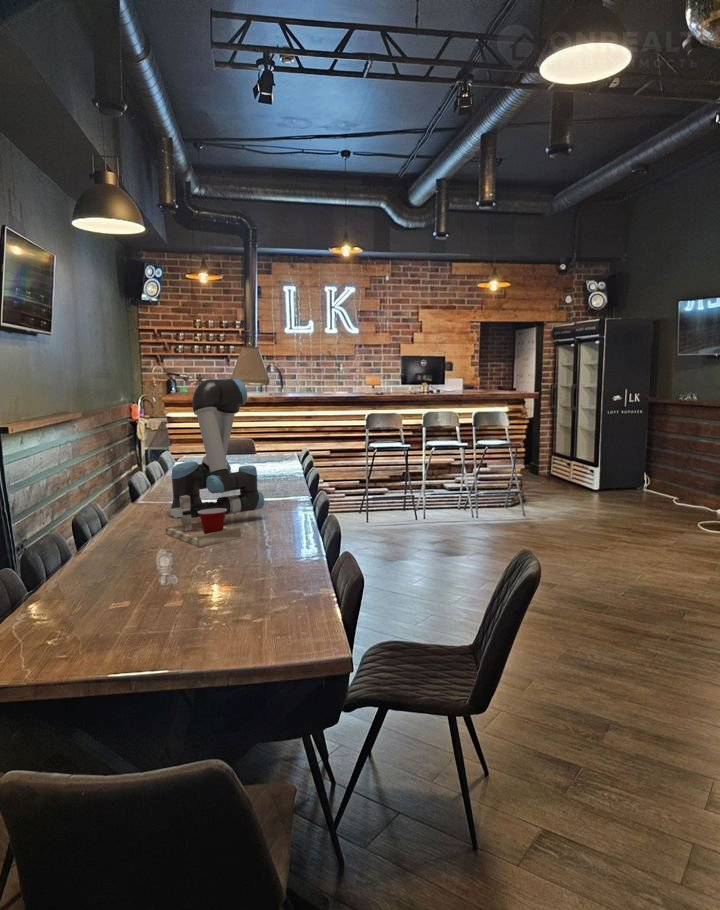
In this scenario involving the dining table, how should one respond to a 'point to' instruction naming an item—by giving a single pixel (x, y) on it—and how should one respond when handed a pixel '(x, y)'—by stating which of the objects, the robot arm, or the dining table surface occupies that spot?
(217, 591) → the dining table surface
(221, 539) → the open rectangular frame
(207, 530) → the plastic cup
